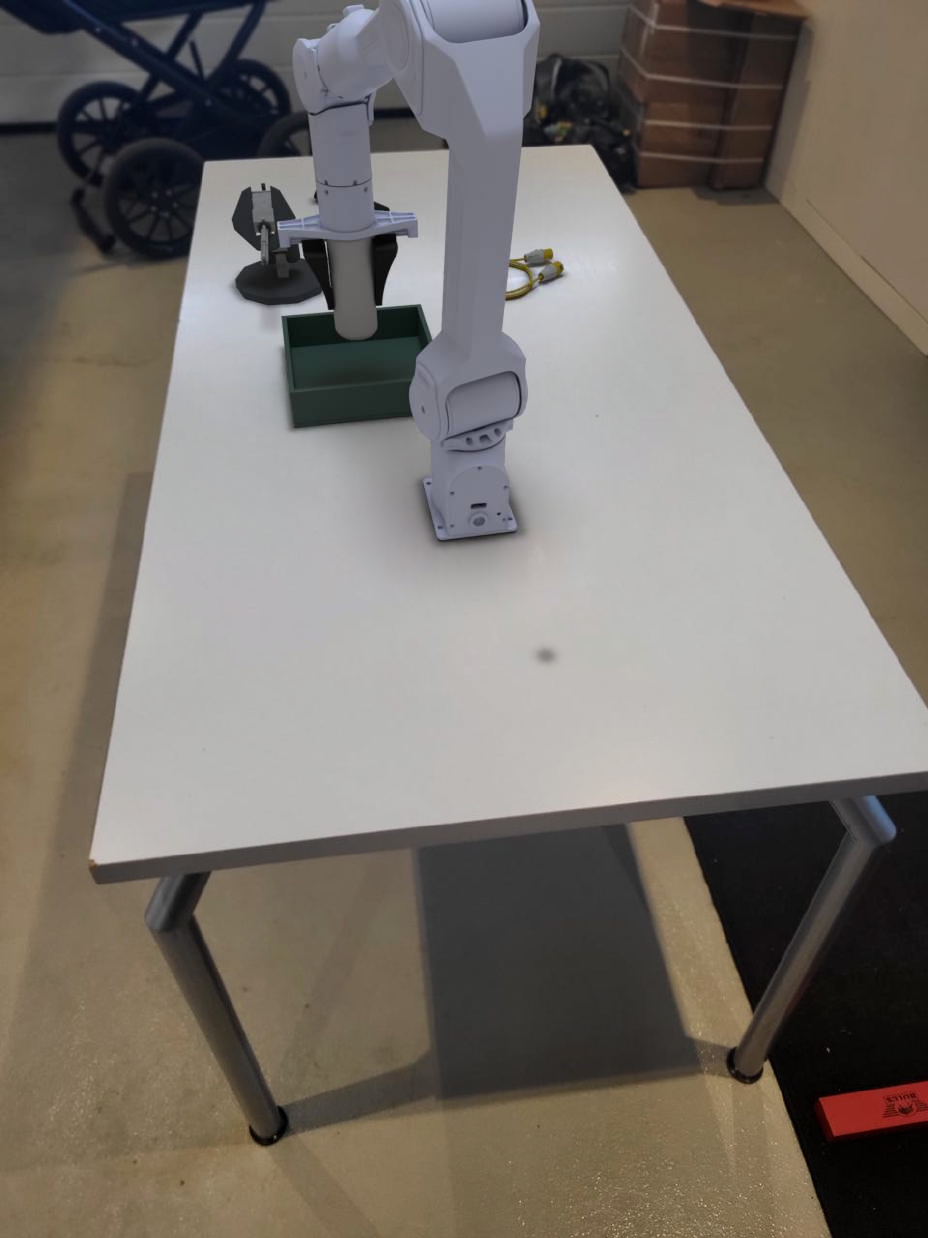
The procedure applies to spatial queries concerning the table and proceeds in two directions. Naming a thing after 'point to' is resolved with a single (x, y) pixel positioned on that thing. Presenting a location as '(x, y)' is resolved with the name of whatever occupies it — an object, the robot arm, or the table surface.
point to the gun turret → (271, 251)
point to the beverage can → (353, 287)
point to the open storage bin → (352, 366)
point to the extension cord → (545, 274)
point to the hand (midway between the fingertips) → (354, 303)
